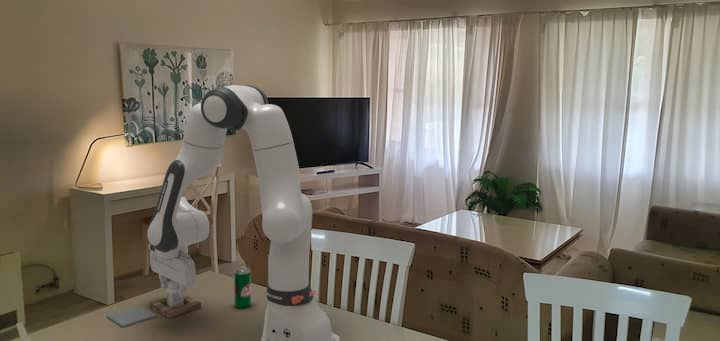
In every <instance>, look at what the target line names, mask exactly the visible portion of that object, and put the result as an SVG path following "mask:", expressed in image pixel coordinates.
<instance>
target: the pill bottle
mask: <svg viewBox="0 0 720 341" xmlns="http://www.w3.org/2000/svg"><path fill="white" fill-rule="evenodd" d="M167 282H168V288H166V298H167V307H169V308H175V307H178V306H181V305H184V299H183V297H180V296H178V290H179V289H180V286H179V283H177V282H175V281H173V280H171V279H170V280H169V281H167Z"/></svg>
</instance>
